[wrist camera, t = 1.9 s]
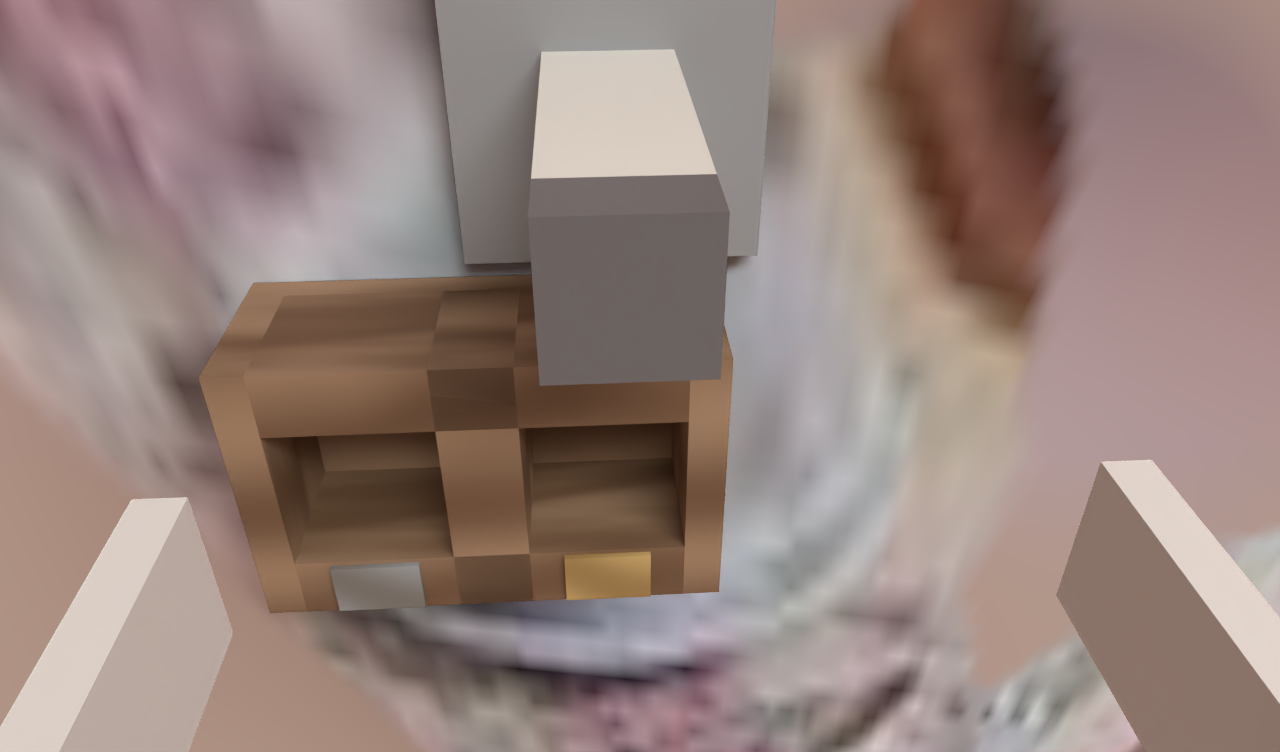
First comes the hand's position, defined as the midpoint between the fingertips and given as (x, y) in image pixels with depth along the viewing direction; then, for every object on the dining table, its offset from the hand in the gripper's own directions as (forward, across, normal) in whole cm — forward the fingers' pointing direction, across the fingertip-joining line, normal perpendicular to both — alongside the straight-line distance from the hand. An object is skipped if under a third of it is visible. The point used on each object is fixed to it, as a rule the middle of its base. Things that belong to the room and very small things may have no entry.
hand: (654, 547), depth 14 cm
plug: (+19, 0, 0) cm, 19 cm away
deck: (+20, 0, 0) cm, 20 cm away
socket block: (+20, -4, -11) cm, 23 cm away
